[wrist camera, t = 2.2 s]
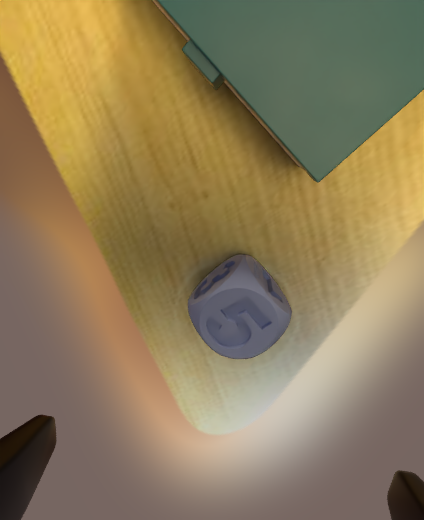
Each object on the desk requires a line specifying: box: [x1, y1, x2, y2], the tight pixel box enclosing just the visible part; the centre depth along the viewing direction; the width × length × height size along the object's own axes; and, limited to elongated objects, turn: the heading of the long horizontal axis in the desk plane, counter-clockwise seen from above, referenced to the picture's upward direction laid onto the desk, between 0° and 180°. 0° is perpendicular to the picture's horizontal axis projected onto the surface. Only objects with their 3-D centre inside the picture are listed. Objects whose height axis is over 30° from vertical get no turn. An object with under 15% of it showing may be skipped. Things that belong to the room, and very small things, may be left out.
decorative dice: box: [188, 254, 292, 359], centre depth 18 cm, size 4×4×4 cm
